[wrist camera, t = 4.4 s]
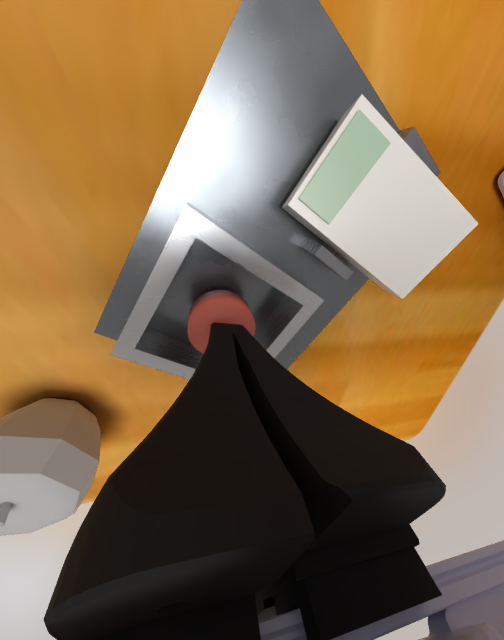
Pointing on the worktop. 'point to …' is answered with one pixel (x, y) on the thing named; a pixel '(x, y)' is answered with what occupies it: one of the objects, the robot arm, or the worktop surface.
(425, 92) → the worktop surface
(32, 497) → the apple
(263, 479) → the robot arm
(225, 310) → the button
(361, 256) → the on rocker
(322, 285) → the panel
